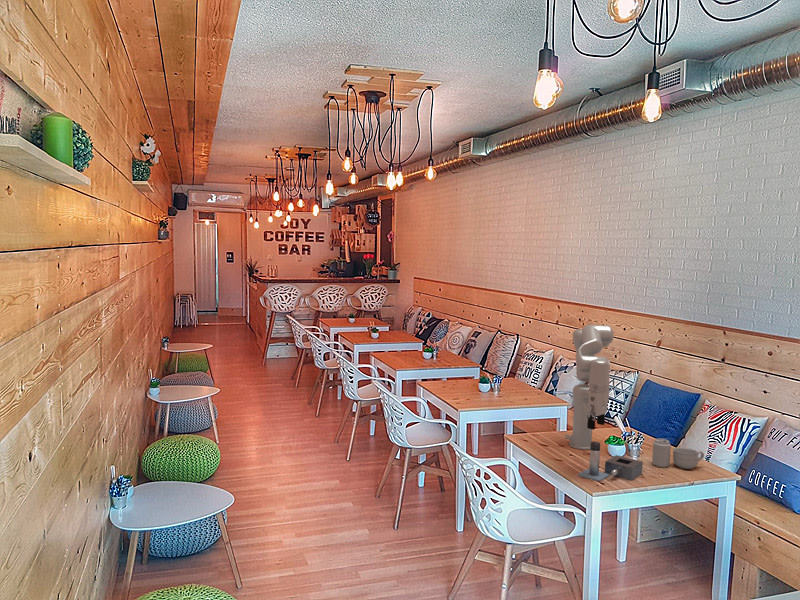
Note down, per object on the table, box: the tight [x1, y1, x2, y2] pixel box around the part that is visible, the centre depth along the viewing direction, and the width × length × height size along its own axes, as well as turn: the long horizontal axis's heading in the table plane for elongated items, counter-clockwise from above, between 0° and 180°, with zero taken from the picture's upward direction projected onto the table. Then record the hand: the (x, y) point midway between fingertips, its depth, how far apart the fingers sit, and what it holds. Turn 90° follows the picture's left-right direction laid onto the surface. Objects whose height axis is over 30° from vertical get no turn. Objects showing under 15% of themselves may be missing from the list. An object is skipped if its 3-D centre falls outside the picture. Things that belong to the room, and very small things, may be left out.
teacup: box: [672, 447, 705, 470], centre depth 280 cm, size 14×11×8 cm
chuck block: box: [604, 454, 643, 481], centre depth 266 cm, size 12×18×6 cm, turn 138°
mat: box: [577, 468, 610, 482], centre depth 264 cm, size 10×10×1 cm
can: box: [651, 438, 672, 468], centre depth 281 cm, size 8×8×12 cm
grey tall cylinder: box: [588, 440, 601, 476], centre depth 264 cm, size 4×4×14 cm
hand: (595, 426), depth 263 cm, fingers open, 9 cm apart
